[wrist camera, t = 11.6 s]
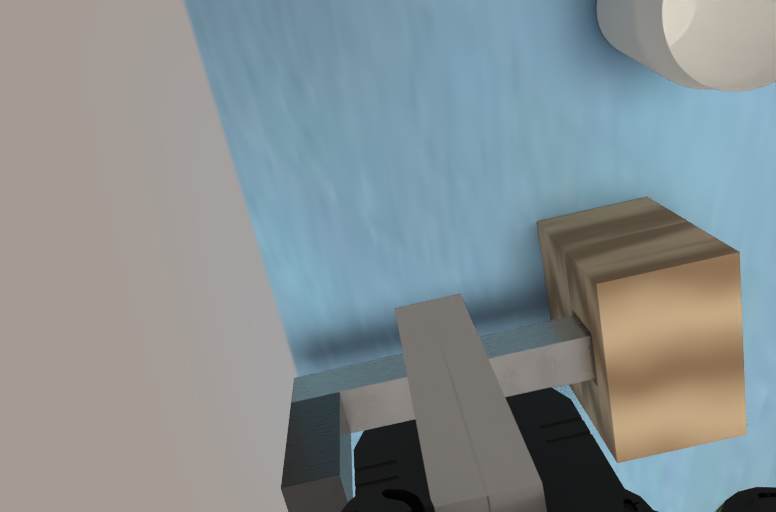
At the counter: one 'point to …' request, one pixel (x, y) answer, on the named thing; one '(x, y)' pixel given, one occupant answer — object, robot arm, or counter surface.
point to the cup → (696, 39)
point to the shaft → (407, 403)
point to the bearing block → (651, 324)
